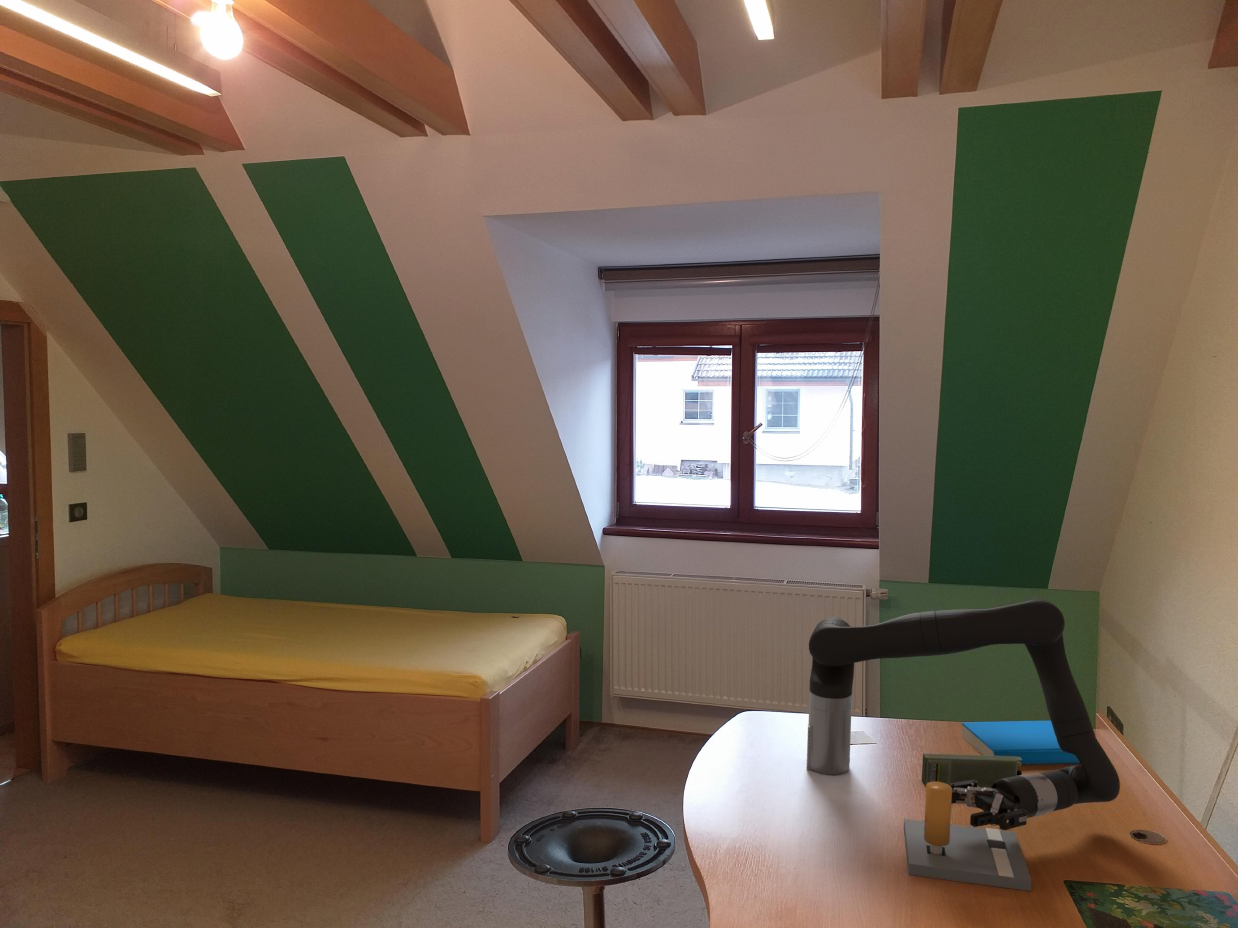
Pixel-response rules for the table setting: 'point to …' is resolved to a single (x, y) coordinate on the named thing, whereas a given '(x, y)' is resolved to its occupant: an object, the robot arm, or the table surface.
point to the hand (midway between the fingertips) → (955, 809)
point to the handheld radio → (968, 768)
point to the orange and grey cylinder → (937, 816)
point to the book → (1017, 741)
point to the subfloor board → (969, 856)
